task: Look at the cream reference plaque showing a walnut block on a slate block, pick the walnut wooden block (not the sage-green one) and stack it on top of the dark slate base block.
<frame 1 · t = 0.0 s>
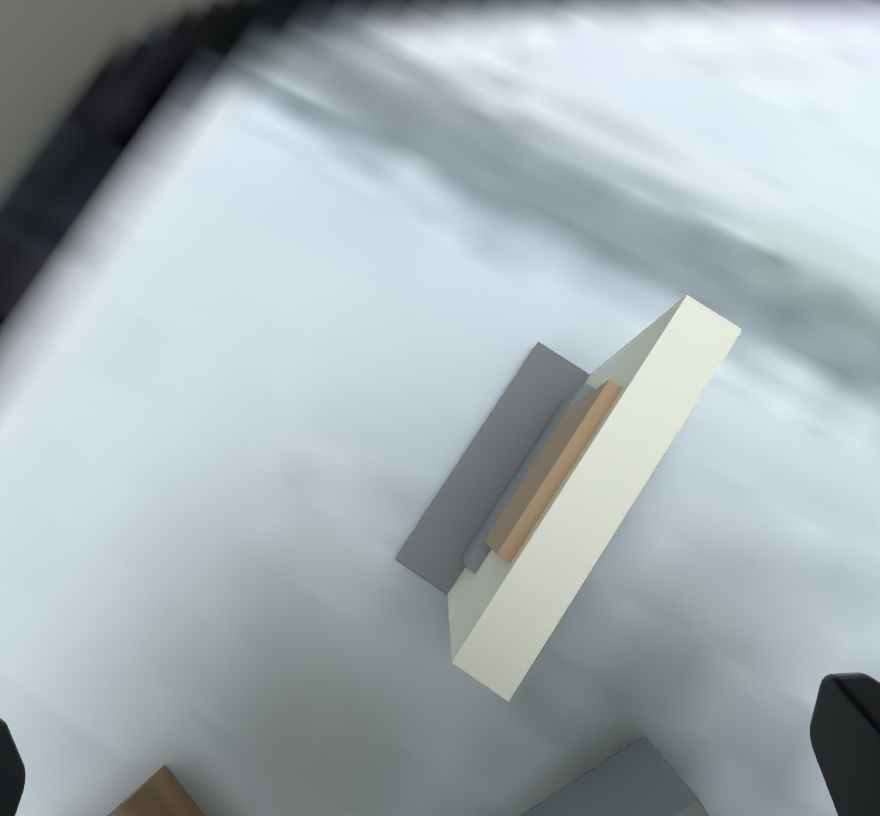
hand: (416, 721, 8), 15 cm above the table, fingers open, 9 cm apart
reference plaque: (532, 493, 23), on the table
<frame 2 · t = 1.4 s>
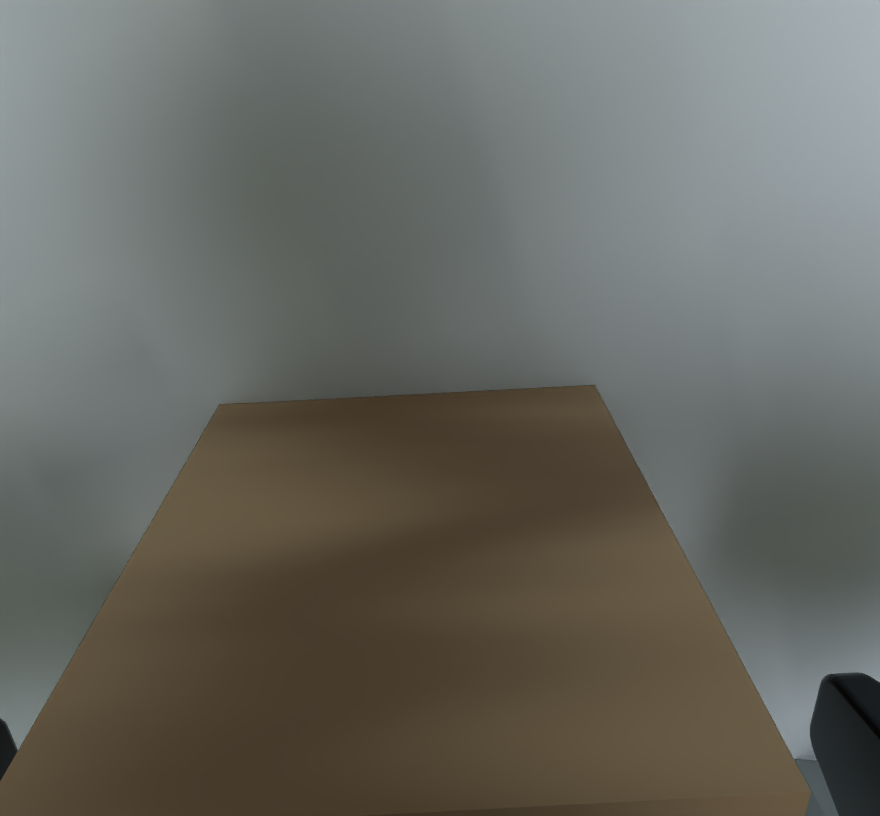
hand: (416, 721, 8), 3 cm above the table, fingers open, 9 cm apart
walnut block: (418, 546, 11), on the table
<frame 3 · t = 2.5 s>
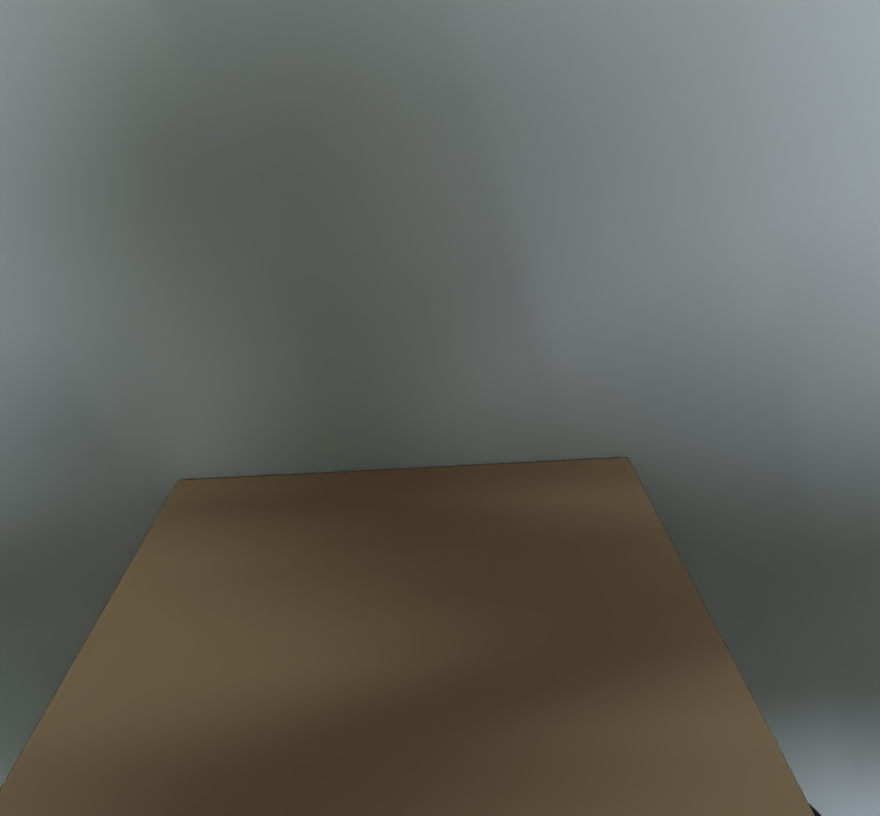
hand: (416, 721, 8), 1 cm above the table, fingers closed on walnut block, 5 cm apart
walnut block: (416, 640, 9), on the table, touching gripper
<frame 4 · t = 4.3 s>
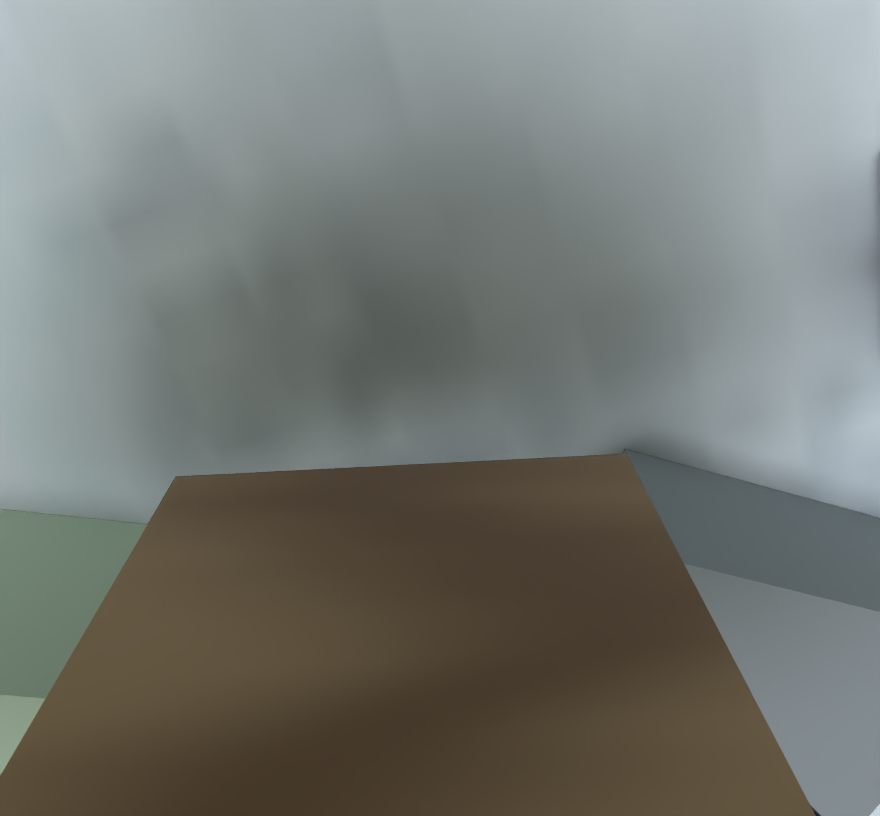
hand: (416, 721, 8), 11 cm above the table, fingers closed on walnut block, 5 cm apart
sage block: (68, 586, 21), on the table
slate base: (693, 592, 22), on the table
walnut block: (414, 637, 9), point 10 cm above the table, touching gripper
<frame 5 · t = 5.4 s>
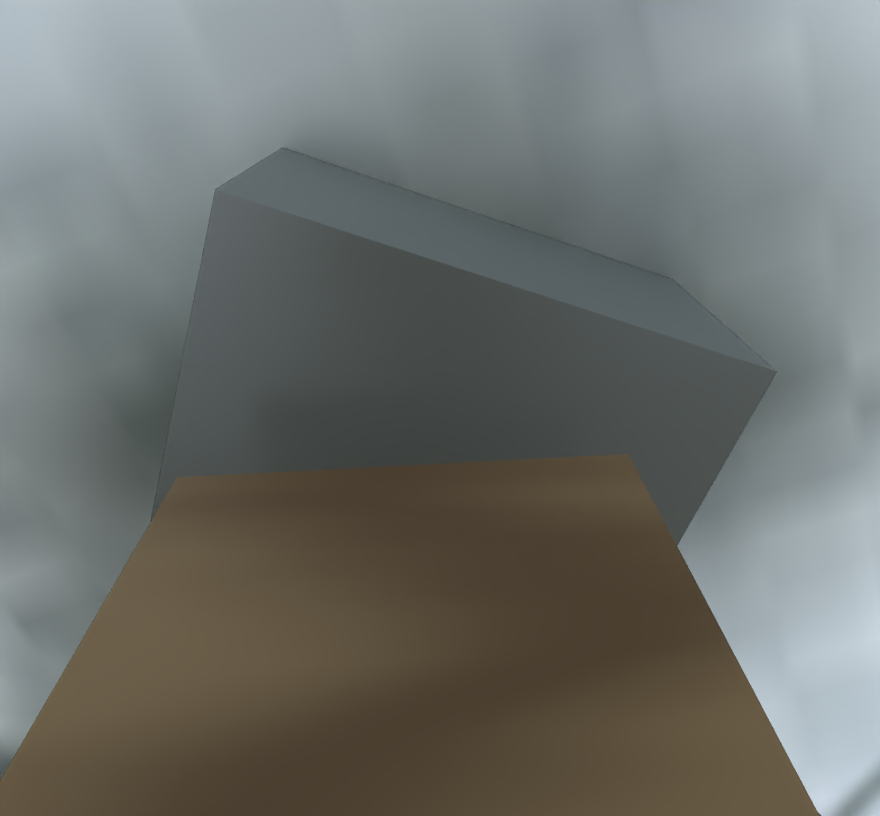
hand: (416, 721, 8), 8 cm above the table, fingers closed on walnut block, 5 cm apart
slate base: (422, 391, 16), on the table
walnut block: (416, 638, 9), point 7 cm above the table, touching gripper
when the fingers open (8 cm above the table, at t = 6.3 s): walnut block drops 2 cm, point 5 cm above the table.
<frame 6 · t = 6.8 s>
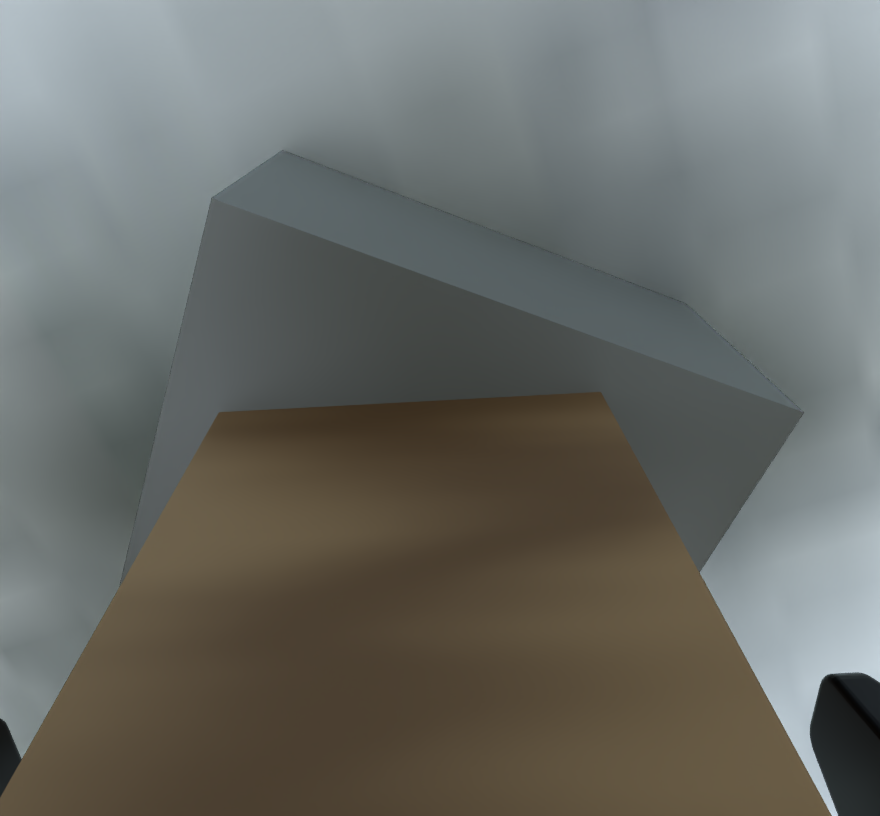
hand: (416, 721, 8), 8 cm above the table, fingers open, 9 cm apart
slate base: (420, 410, 15), on the table
walnut block: (421, 557, 11), point 5 cm above the table
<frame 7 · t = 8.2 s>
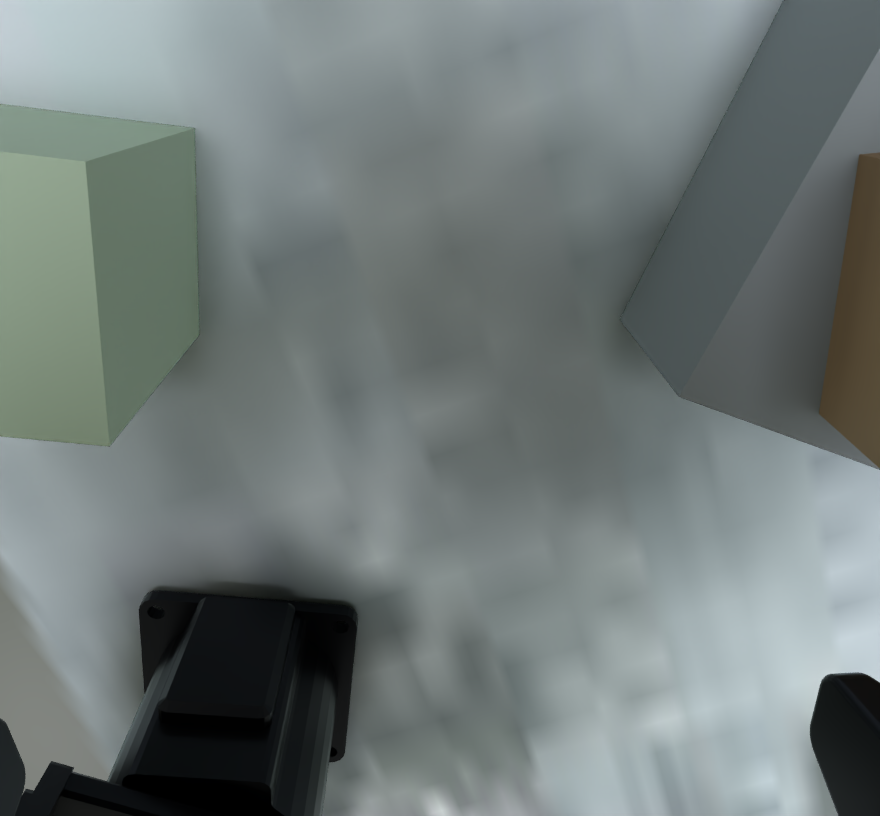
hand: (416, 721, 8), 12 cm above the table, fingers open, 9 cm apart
sage block: (91, 225, 17), on the table
slate base: (833, 226, 18), on the table, touching walnut block
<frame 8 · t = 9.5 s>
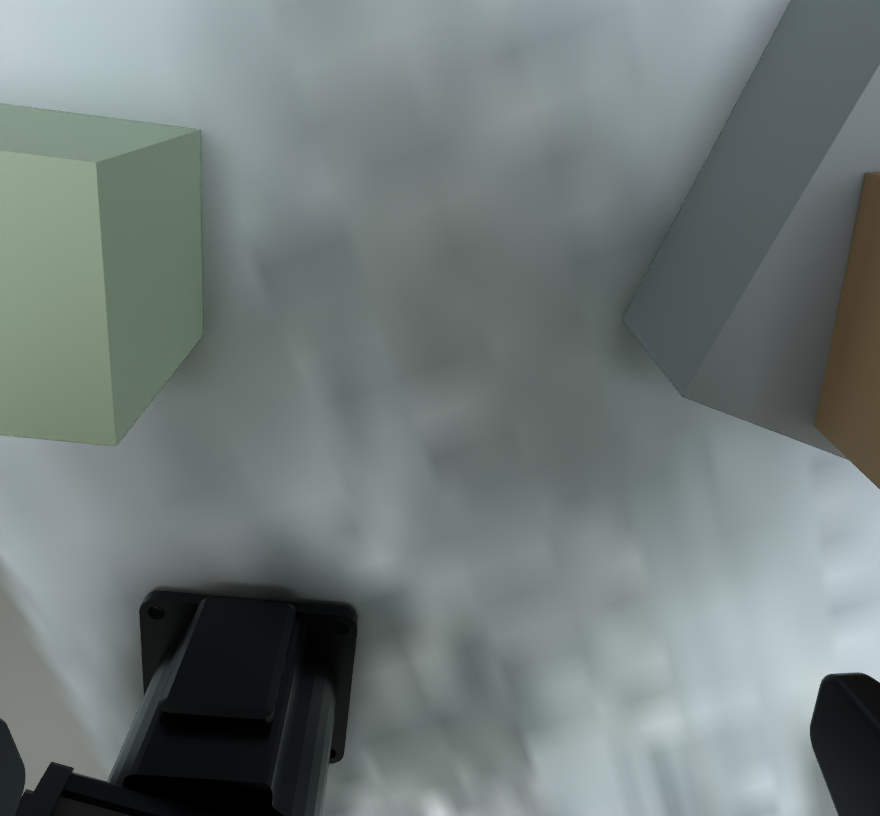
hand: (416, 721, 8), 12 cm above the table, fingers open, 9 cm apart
sage block: (96, 225, 17), on the table
slate base: (836, 229, 18), on the table, touching walnut block
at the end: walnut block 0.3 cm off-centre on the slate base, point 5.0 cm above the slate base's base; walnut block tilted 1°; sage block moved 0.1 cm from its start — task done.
